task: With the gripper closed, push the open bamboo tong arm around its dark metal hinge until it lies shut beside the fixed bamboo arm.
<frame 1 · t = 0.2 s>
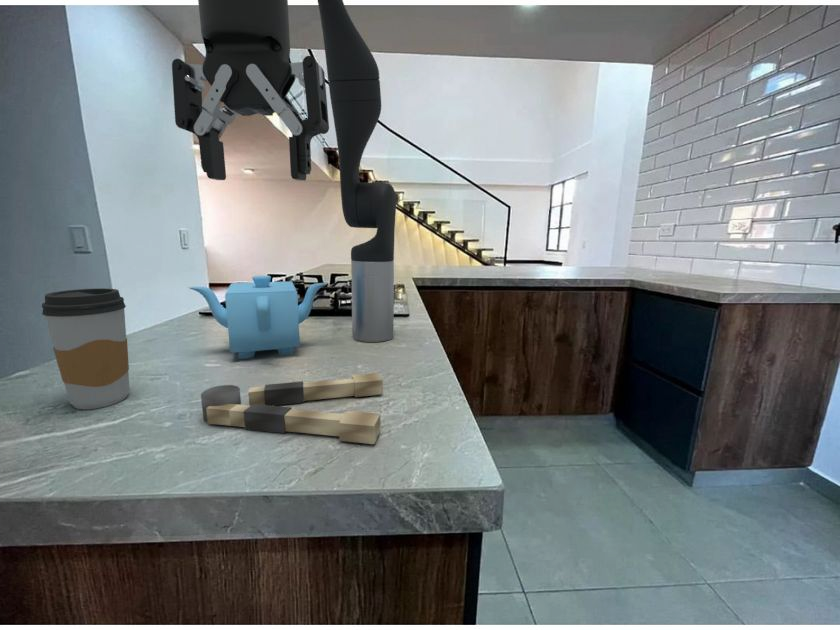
hand: (257, 179, 38), 28 cm above the counter, fingers open, 8 cm apart
coffee cup: (101, 401, 53), on the counter
tongs frame: (222, 415, 49), on the counter
tong arm: (318, 389, 54), point 1 cm above the counter, hinge at 25.0°
teakettle: (266, 348, 78), on the counter
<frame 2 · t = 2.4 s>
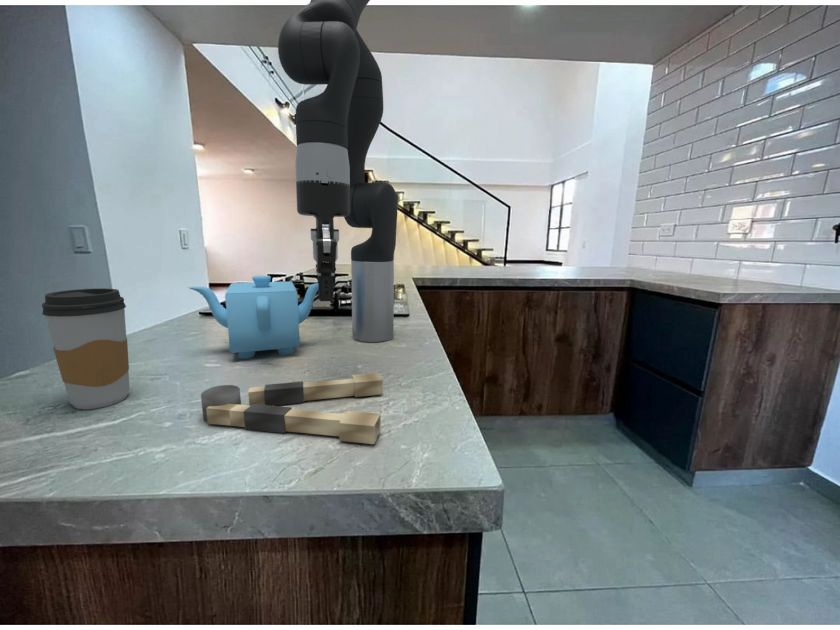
hand: (326, 300, 59), 13 cm above the counter, fingers closed
nothing on the counter moved.
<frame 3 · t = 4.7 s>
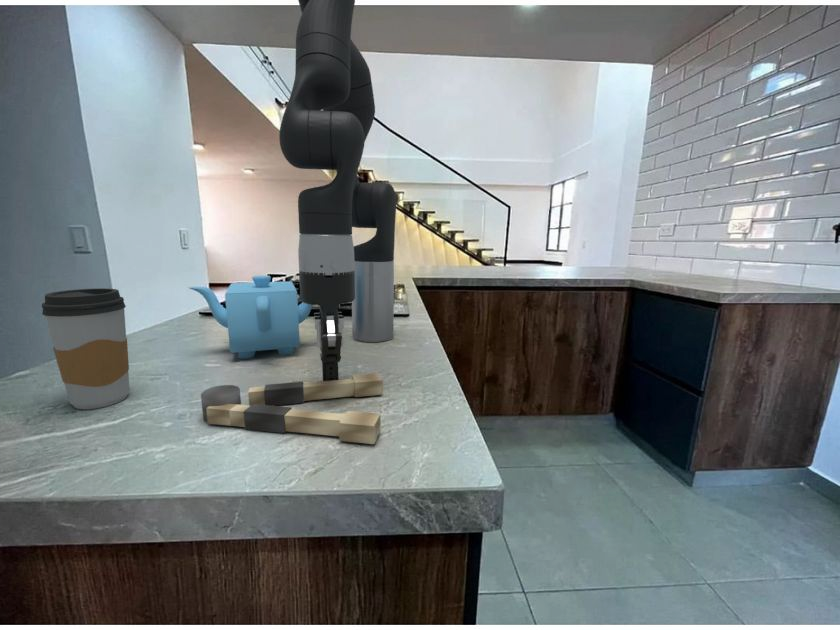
hand: (330, 384, 57), 1 cm above the counter, fingers closed
tong arm: (318, 389, 54), point 1 cm above the counter, hinge at 24.8°, touching gripper
everything else where it was.
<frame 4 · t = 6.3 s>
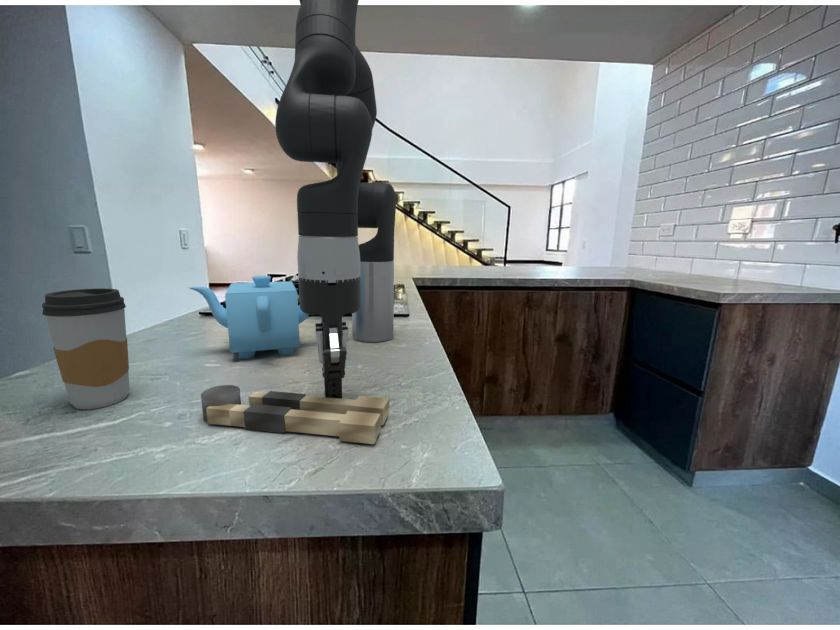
hand: (333, 401, 52), 1 cm above the counter, fingers closed
tong arm: (318, 405, 49), point 1 cm above the counter, hinge at -0.1°, touching gripper
everything else where it was.
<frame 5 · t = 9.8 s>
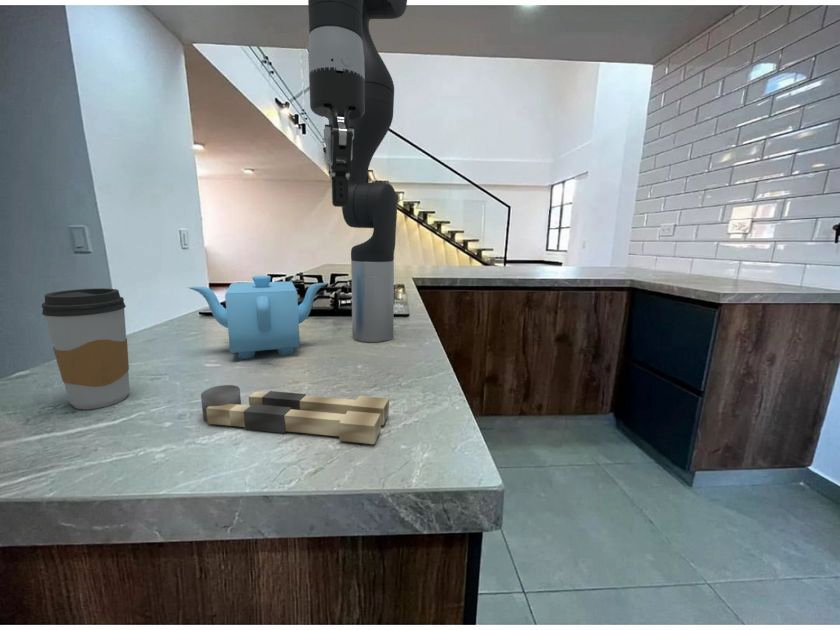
hand: (340, 206, 57), 27 cm above the counter, fingers closed
tong arm: (318, 405, 49), point 1 cm above the counter, hinge at -0.1°
everything else where it was.
at the end: tong arm at +0° (first picture: +25°); teakettle moved 0.2 cm from its start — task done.
